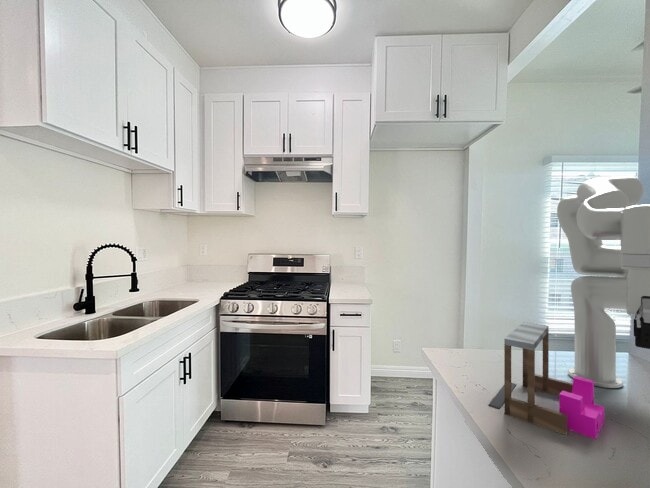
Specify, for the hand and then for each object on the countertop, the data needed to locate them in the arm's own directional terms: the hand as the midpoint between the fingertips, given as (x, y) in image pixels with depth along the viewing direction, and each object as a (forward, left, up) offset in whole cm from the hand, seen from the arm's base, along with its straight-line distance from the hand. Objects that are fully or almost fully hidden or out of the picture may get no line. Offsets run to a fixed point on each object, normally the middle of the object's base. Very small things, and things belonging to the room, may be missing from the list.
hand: (644, 342), depth 66 cm
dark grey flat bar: (0, -27, -20) cm, 34 cm away
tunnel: (0, -18, -20) cm, 27 cm away
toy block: (0, -10, -21) cm, 23 cm away
